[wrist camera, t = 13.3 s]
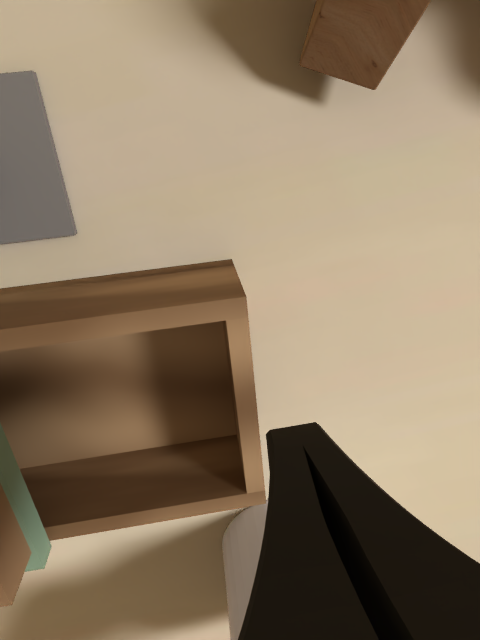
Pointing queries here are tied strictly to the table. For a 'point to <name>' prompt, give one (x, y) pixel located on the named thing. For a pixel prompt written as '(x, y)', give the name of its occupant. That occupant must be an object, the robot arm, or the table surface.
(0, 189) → the mat
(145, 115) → the table surface
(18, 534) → the toolbox lid
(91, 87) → the table surface
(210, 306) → the toolbox
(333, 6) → the wooden block set
